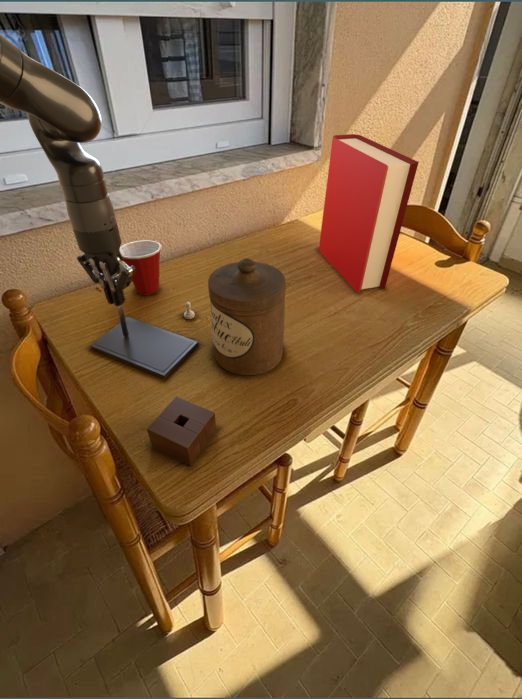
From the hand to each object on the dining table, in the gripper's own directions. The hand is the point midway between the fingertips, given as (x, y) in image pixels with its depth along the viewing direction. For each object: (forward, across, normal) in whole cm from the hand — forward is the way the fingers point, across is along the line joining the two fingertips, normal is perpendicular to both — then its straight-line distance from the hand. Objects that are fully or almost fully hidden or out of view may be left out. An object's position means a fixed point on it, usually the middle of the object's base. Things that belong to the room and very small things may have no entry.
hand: (116, 302), depth 79 cm
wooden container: (+10, +26, +9) cm, 29 cm away
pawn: (+10, +7, +14) cm, 19 cm away
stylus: (+9, 0, 0) cm, 9 cm away
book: (+10, +34, +56) cm, 66 cm away
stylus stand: (+10, +27, -16) cm, 33 cm away
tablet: (+10, +5, 0) cm, 11 cm away
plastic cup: (+10, -10, +19) cm, 24 cm away
